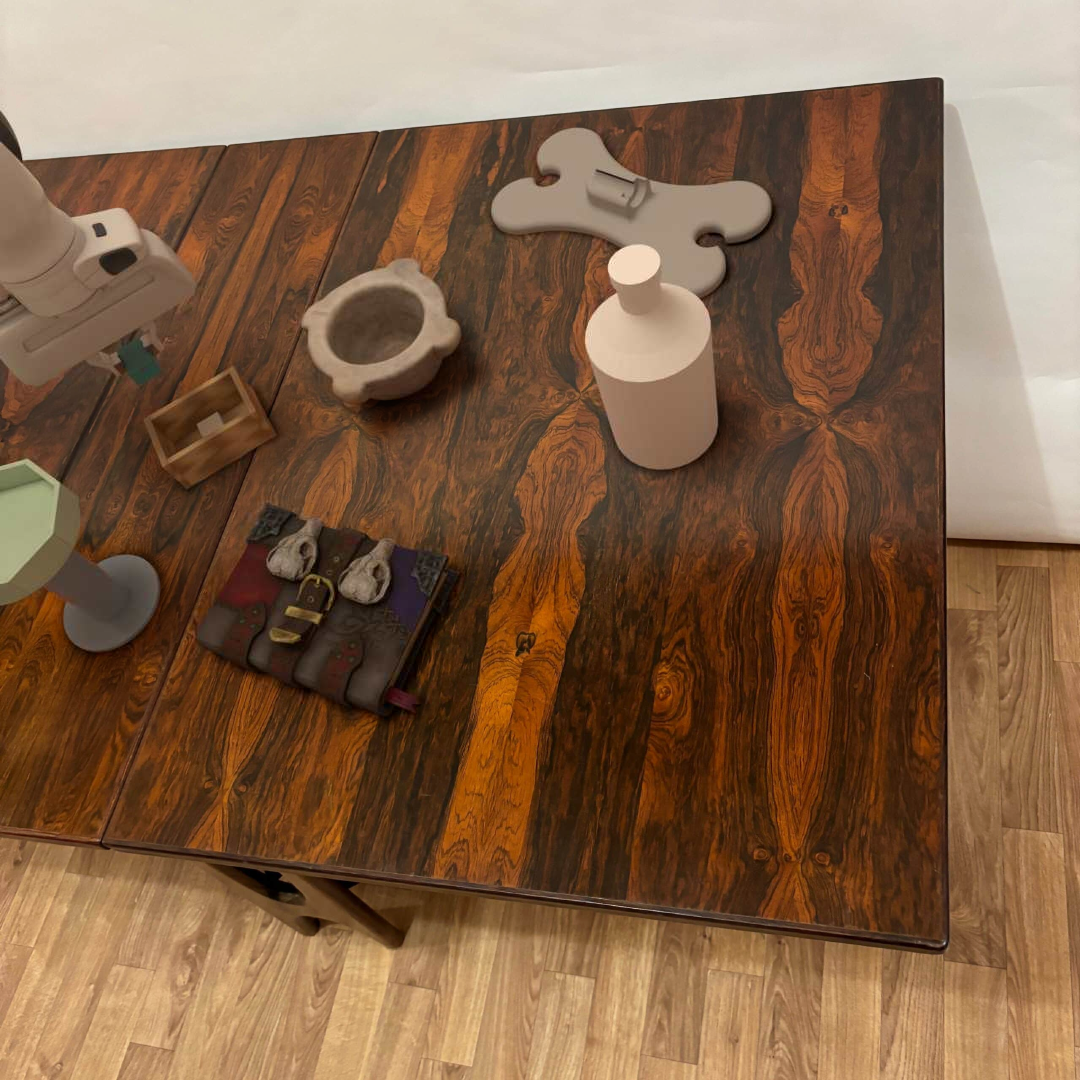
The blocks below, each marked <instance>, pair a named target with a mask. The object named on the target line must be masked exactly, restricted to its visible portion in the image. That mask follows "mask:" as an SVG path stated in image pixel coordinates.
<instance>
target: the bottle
mask: <svg viewBox="0 0 1080 1080" xmlns="http://www.w3.org/2000/svg"><path fill="white" fill-rule="evenodd" d="M607 272H608V276H609V280H610V284H611V286H612V287H613V289H614V290H616V291H615V292H616V293H614V294H613V295H611V296H609V297H608V298H607V299H606V300H604V301H603V302H602V303H601V304H600V305H599V306H598V307H597V308H596V310H595V311H594V312H593V314H592V315H591V317H590V318H589V320H588V323H587V326H586V329H585V336H584V344H585V350H586V353H587V356H588V359H589V362H590V366H591V369H592V372H593V375H594V378H595V382H596V384H597V385H596V386H597V388H598V391H599V394H600V397H601V400H602V404H603V407H604V410H605V413H606V416H607V419H608V423H609V426H610V429H611V432H612V435H613V439H614V442H615V443H616V446H617V448H618V449H619V451H620V452H621V454H622V455H623V456H624V457H625V458H627V459H628V461H630V462H632V463H633V464H636V465H638V466H640V467H644V468H646V469H650V470H651V469H652V470H671V469H675V468H680V467H682V466H685V465H688V464H690V463H691V462H693V461H695V460H697V459H698V458H699V457H701V456H702V455H703V454H704V453H705V452H707V450H708V449H709V448H710V446H711V445H712V444H713V442H714V440H715V437H716V436H717V431H718V427H719V415H718V414H719V413H718V401H717V400H718V399H717V389H716V375H715V364H714V363H715V362H714V352H713V351H714V350H713V349H714V348H713V338H712V337H713V335H712V325H711V322H712V321H711V317H710V315H709V311H708V309H707V307H706V306H705V304H704V302H703V301H702V300H701V298H700V299H699V298H698V297H697V296H696V295H695V294H693V293H692V292H690V291H689V290H687V289H684V288H682V287H680V286H677V285H672V284H668V283H660V278H661V275H662V268H661V261H660V257H659V254H658V253H657V252H656V250H655V249H653V248H651V247H649V246H646V245H638V244H637V245H630V246H627V247H624V248H620V249H619V250H617V251H616V252H615V253H613V255H612V256H611V257H610V259H609V261H608V264H607Z"/></svg>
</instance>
